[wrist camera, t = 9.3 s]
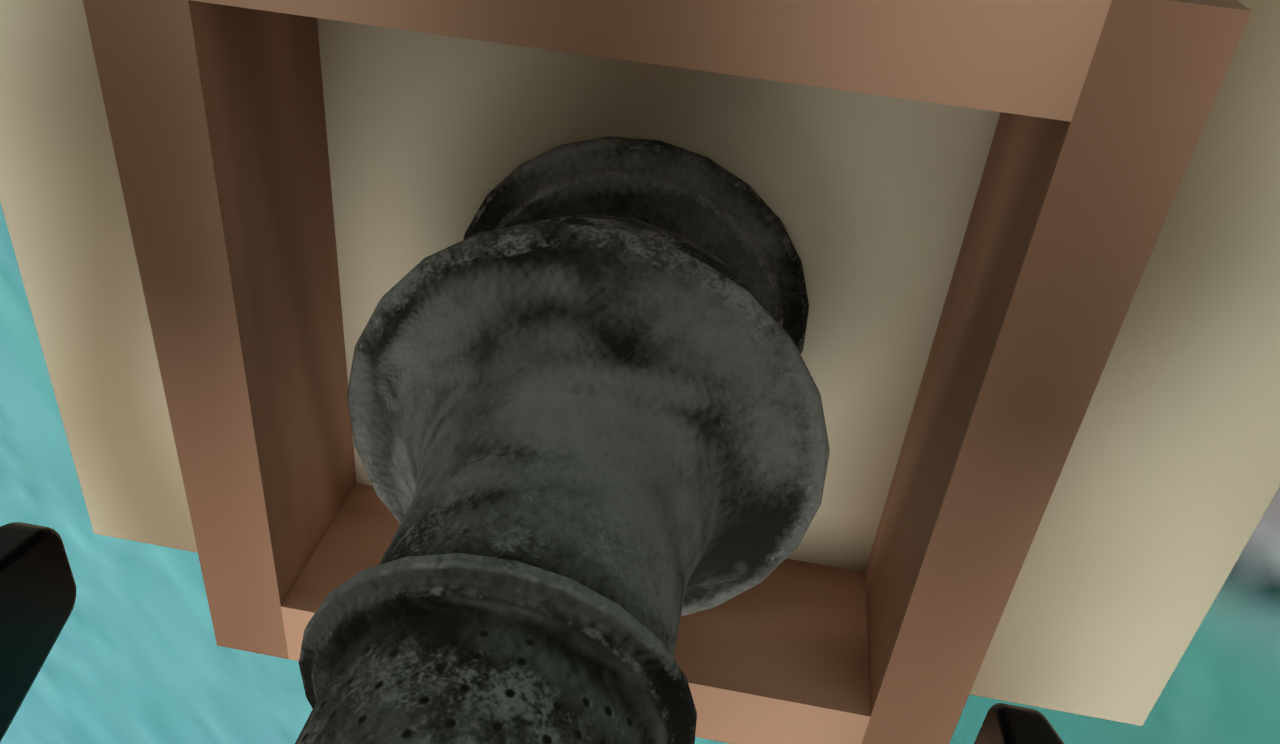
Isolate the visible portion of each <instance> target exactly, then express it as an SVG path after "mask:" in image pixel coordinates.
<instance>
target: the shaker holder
mask: <svg viewBox="0 0 1280 744" xmlns="http://www.w3.org/2000/svg"><path fill="white" fill-rule="evenodd" d="M608 136H612V137H624V138H636V139H648V140H659V141H662V142H665V143H668V144H671V145H674V146H677V147H680V148H683V149H685V150H688V151H691V152H694V153H697V154H700V155H703V156H705V157H708V158H710V159H711V160H713V161H714V162H716V163H717V164H719V165H720V166H722V167H723V168H725V169H726V170H728V171H729V172H731V173H732V174H734V175H735V176H737V177H738V178H740V179H741V180H743V181H744V182H746V183H747V184H749V185H750V186H751V187H752V188H753V189H754V190H755V192H756V193H757V194H758V195H759V196H760V197H761V198H762V199H763V201H764V202H765V203H766V204H767V205H768V206H769V207H770V208H771V210H772V211H773V212H774V213H775V214H776V215H777V216H778V217H779V219H780V220H781V221H782V223H783V225H784V227H785V229H786V231H787V233H788V235H789V237H790V239H791V241H792V243H793V245H794V247H795V249H796V251H797V253H798V255H799V257H800V259H801V262H802V266H803V272H804V278H805V284H806V290H807V296H808V302H809V311H808V318H807V325H806V333H805V340H804V347H803V351H802V353H801V356H802V358H803V360H804V362H805V364H806V366H807V368H808V370H809V372H810V374H811V376H812V378H813V380H814V382H815V384H816V386H817V388H818V390H819V392H820V394H821V400H822V406H823V412H824V418H825V424H826V430H827V436H828V442H829V448H830V454H829V460H828V466H827V472H826V478H825V484H824V490H823V496H822V501H821V505H820V507H819V509H818V511H817V512H816V514H815V516H814V518H813V520H812V522H811V524H810V525H809V527H808V529H807V531H806V533H805V535H804V536H803V538H802V540H801V542H800V544H799V546H798V547H797V549H796V550H795V551H793V552H792V553H791V554H790V555H789V556H788V557H787V558H786V559H785V560H784V561H783V562H782V563H781V564H780V565H779V566H778V567H777V568H776V569H775V570H774V571H773V572H772V573H771V574H769V575H768V576H767V577H766V578H765V579H764V580H763V581H762V582H761V583H759V584H757V585H756V586H754V587H752V588H750V589H748V590H746V591H744V592H743V593H741V594H739V595H737V596H735V597H733V598H731V599H729V600H728V601H726V602H724V603H722V604H720V605H718V606H716V607H714V608H711V609H707V610H703V611H699V612H696V613H692V614H688V615H684V616H681V618H680V624H679V630H678V636H677V642H676V648H675V654H674V660H675V662H676V663H677V664H678V666H679V667H680V669H681V670H682V672H683V673H684V674H685V676H686V678H687V681H688V684H689V688H690V691H691V694H692V698H693V701H694V704H695V708H696V711H697V722H696V732H695V737H699V738H705V739H710V740H715V741H720V742H725V743H731V744H949V742H950V740H951V737H952V735H953V733H954V730H955V728H956V725H957V723H958V721H959V718H960V716H961V713H962V711H963V708H964V706H965V704H966V701H967V699H968V696H969V694H970V695H976V696H981V697H987V698H992V699H998V700H1003V701H1009V702H1014V703H1019V704H1025V705H1030V706H1036V707H1041V708H1047V709H1052V710H1058V711H1063V712H1068V713H1074V714H1079V715H1085V716H1090V717H1096V718H1101V719H1107V720H1112V721H1117V722H1123V723H1128V724H1134V725H1139V726H1143V724H1144V722H1145V720H1146V719H1147V717H1148V715H1149V713H1150V712H1151V710H1152V708H1153V706H1154V705H1155V703H1156V701H1157V699H1158V698H1159V696H1160V694H1161V692H1162V691H1163V689H1164V687H1165V685H1166V684H1167V682H1168V680H1169V679H1170V677H1171V675H1172V673H1173V672H1174V670H1175V668H1176V666H1177V665H1178V663H1179V661H1180V659H1181V658H1182V656H1183V654H1184V652H1185V651H1186V649H1187V647H1188V645H1189V644H1190V642H1191V640H1192V638H1193V637H1194V635H1195V633H1196V631H1197V630H1198V628H1199V626H1200V624H1201V623H1202V621H1203V619H1204V617H1205V616H1206V614H1207V612H1208V611H1209V609H1210V607H1211V605H1212V604H1213V602H1214V600H1215V598H1216V597H1217V595H1218V593H1219V591H1220V590H1221V588H1222V586H1223V584H1224V583H1225V581H1226V579H1227V577H1228V576H1229V574H1230V572H1231V570H1232V569H1233V567H1234V565H1235V563H1236V562H1237V560H1238V558H1239V556H1240V555H1241V553H1242V551H1243V550H1244V548H1245V546H1246V544H1247V543H1248V541H1249V539H1250V537H1251V536H1252V534H1253V532H1254V530H1255V529H1256V527H1257V525H1258V523H1259V522H1260V520H1261V518H1262V516H1263V515H1264V513H1265V511H1266V509H1267V508H1268V506H1269V504H1270V502H1271V501H1272V499H1273V497H1274V495H1275V494H1276V492H1277V490H1278V488H1279V487H1280V0H0V202H1V205H2V209H3V212H4V216H5V219H6V223H7V227H8V230H9V234H10V237H11V241H12V244H13V248H14V251H15V255H16V258H17V262H18V265H19V269H20V273H21V276H22V280H23V283H24V287H25V290H26V294H27V297H28V301H29V304H30V308H31V311H32V315H33V319H34V322H35V326H36V329H37V333H38V336H39V340H40V343H41V347H42V350H43V354H44V357H45V361H46V365H47V368H48V372H49V375H50V379H51V382H52V386H53V389H54V393H55V396H56V400H57V403H58V407H59V411H60V414H61V418H62V421H63V425H64V428H65V432H66V435H67V439H68V442H69V446H70V449H71V453H72V457H73V460H74V464H75V467H76V471H77V474H78V478H79V481H80V485H81V488H82V492H83V495H84V499H85V503H86V506H87V510H88V513H89V517H90V520H91V524H92V527H93V531H94V534H100V535H105V536H110V537H116V538H121V539H127V540H132V541H138V542H143V543H149V544H154V545H159V546H165V547H170V548H176V549H181V550H187V551H192V552H197V553H198V555H199V560H200V565H201V570H202V574H203V579H204V584H205V589H206V594H207V598H208V603H209V608H210V613H211V617H212V622H213V627H214V632H215V637H216V641H217V645H218V646H223V647H228V648H234V649H239V650H244V651H249V652H255V653H260V654H265V655H270V656H276V657H281V658H286V659H291V660H296V661H299V658H300V652H301V646H302V640H303V635H304V630H305V628H306V626H307V624H308V623H309V621H310V620H311V618H312V617H313V615H314V614H315V612H316V611H317V609H318V608H319V606H320V605H321V603H322V602H323V600H324V599H325V597H326V596H327V594H328V593H330V592H331V591H332V590H334V589H335V588H337V587H338V586H340V585H341V584H343V583H344V582H345V581H347V580H348V579H350V578H351V577H353V576H354V575H356V574H357V573H359V572H360V571H362V570H365V569H368V568H372V567H375V566H378V565H379V564H380V562H381V560H382V558H383V556H384V554H385V552H386V550H387V548H388V547H389V545H390V543H391V541H392V539H393V537H394V535H395V533H396V531H397V530H398V528H399V526H400V523H399V522H398V521H397V520H396V518H395V517H394V516H393V514H392V513H391V512H390V511H389V509H388V508H387V507H386V506H385V504H384V503H383V502H382V501H381V499H380V498H379V497H378V495H377V494H376V492H375V490H374V487H373V485H372V483H371V481H370V479H369V477H368V474H367V472H366V470H365V468H364V466H363V464H362V461H361V459H360V457H359V455H358V453H357V451H356V448H355V446H354V440H353V433H352V427H351V420H350V414H349V408H348V401H347V391H348V385H349V379H350V373H351V366H352V360H353V354H354V348H355V345H356V343H357V341H358V339H359V337H360V336H361V334H362V332H363V330H364V328H365V326H366V325H367V323H368V321H369V319H370V317H371V315H372V314H373V312H374V310H375V308H376V306H377V304H378V303H379V301H380V299H381V298H382V297H383V295H385V294H386V293H387V292H388V291H389V290H390V289H391V288H392V287H393V286H394V285H396V284H397V283H398V282H399V281H400V280H401V279H402V278H403V277H404V276H405V275H406V274H408V273H409V272H410V271H411V270H412V269H413V268H414V267H415V266H416V265H417V264H419V263H420V262H421V261H422V260H423V259H424V258H426V257H428V256H430V255H432V254H434V253H436V252H439V251H441V250H443V249H445V248H447V247H450V246H452V245H454V244H456V243H458V242H460V241H463V239H464V234H465V232H466V230H467V229H468V227H469V225H470V223H471V222H472V220H473V218H474V216H475V215H476V213H477V211H478V210H479V208H480V206H481V204H482V203H483V201H484V199H485V197H486V196H487V195H488V193H490V192H491V191H492V190H493V189H494V188H495V187H496V186H497V185H498V184H499V183H501V182H502V181H503V180H504V179H505V178H506V177H507V176H508V175H509V174H510V173H511V172H513V171H514V170H515V169H516V168H517V167H518V166H519V165H520V164H522V163H524V162H527V161H529V160H531V159H533V158H535V157H537V156H539V155H541V154H543V153H545V152H547V151H549V150H551V149H554V148H556V147H558V146H560V145H562V144H568V143H574V142H579V141H585V140H591V139H596V138H602V137H608Z"/></svg>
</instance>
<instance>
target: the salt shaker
mask: <svg viewBox="0 0 1280 744" xmlns="http://www.w3.org/2000/svg"><path fill="white" fill-rule="evenodd" d="M808 311H809V302H808V296H807V290H806V284H805V278H804V272H803V266H802V262H801V259H800V257H799V255H798V253H797V251H796V249H795V247H794V245H793V243H792V241H791V239H790V237H789V235H788V233H787V231H786V229H785V227H784V225H783V223H782V221H781V220H780V219H779V217H778V216H777V215H776V214H775V213H774V212H773V211H772V210H771V208H770V207H769V206H768V205H767V204H766V203H765V202H764V201H763V199H762V198H761V197H760V196H759V195H758V194H757V193H756V192H755V190H754V189H753V188H752V187H751V186H750V185H749V184H747V183H746V182H744V181H743V180H741V179H740V178H738V177H737V176H735V175H734V174H732V173H731V172H729V171H728V170H726V169H725V168H723V167H722V166H720V165H719V164H717V163H716V162H714V161H713V160H711V159H710V158H708V157H705V156H703V155H700V154H697V153H694V152H691V151H688V150H685V149H683V148H680V147H677V146H674V145H671V144H668V143H665V142H662V141H659V140H648V139H636V138H624V137H612V136H608V137H602V138H596V139H591V140H585V141H579V142H574V143H568V144H562V145H560V146H558V147H556V148H554V149H551V150H549V151H547V152H545V153H543V154H541V155H539V156H537V157H535V158H533V159H531V160H529V161H527V162H524V163H522V164H520V165H519V166H518V167H517V168H516V169H515V170H514V171H513V172H511V173H510V174H509V175H508V176H507V177H506V178H505V179H504V180H503V181H502V182H501V183H499V184H498V185H497V186H496V187H495V188H494V189H493V190H492V191H491V192H490V193H488V195H487V196H486V197H485V199H484V201H483V203H482V204H481V206H480V208H479V210H478V211H477V213H476V215H475V216H474V218H473V220H472V222H471V223H470V225H469V227H468V229H467V230H466V232H465V234H464V239H463V241H460V242H458V243H456V244H454V245H452V246H450V247H447V248H445V249H443V250H441V251H439V252H436V253H434V254H432V255H430V256H428V257H426V258H424V259H423V260H422V261H421V262H420V263H419V264H417V265H416V266H415V267H414V268H413V269H412V270H411V271H410V272H409V273H408V274H406V275H405V276H404V277H403V278H402V279H401V280H400V281H399V282H398V283H397V284H396V285H394V286H393V287H392V288H391V289H390V290H389V291H388V292H387V293H386V294H385V295H383V297H382V298H381V299H380V301H379V303H378V304H377V306H376V308H375V310H374V312H373V314H372V315H371V317H370V319H369V321H368V323H367V325H366V326H365V328H364V330H363V332H362V334H361V336H360V337H359V339H358V341H357V343H356V345H355V348H354V354H353V360H352V366H351V373H350V379H349V385H348V391H347V401H348V408H349V414H350V420H351V427H352V433H353V440H354V446H355V448H356V451H357V453H358V455H359V457H360V459H361V461H362V464H363V466H364V468H365V470H366V472H367V474H368V477H369V479H370V481H371V483H372V485H373V487H374V490H375V492H376V494H377V495H378V497H379V498H380V499H381V501H382V502H383V503H384V504H385V506H386V507H387V508H388V509H389V511H390V512H391V513H392V514H393V516H394V517H395V518H396V520H397V521H398V522H399V523H400V526H399V528H398V530H397V531H396V533H395V535H394V537H393V539H392V541H391V543H390V545H389V547H388V548H387V550H386V552H385V554H384V556H383V558H382V560H381V562H380V564H379V565H378V566H375V567H372V568H368V569H365V570H362V571H360V572H359V573H357V574H356V575H354V576H353V577H351V578H350V579H348V580H347V581H345V582H344V583H343V584H341V585H340V586H338V587H337V588H335V589H334V590H332V591H331V592H330V593H328V594H327V596H326V597H325V599H324V600H323V602H322V603H321V605H320V606H319V608H318V609H317V611H316V612H315V614H314V615H313V617H312V618H311V620H310V621H309V623H308V624H307V626H306V628H305V630H304V635H303V640H302V646H301V652H300V658H299V666H300V671H301V675H302V680H303V684H304V689H305V693H306V697H307V699H308V701H309V703H310V705H311V706H312V708H313V710H312V712H311V714H310V716H309V718H308V720H307V722H306V723H305V725H304V727H303V729H302V731H301V733H300V735H299V737H298V739H297V741H296V743H295V744H694V742H695V732H696V722H697V711H696V708H695V704H694V701H693V698H692V694H691V691H690V688H689V684H688V681H687V678H686V676H685V674H684V673H683V672H682V670H681V669H680V667H679V666H678V664H677V663H676V662H675V660H674V654H675V648H676V642H677V636H678V630H679V624H680V618H681V616H684V615H688V614H692V613H696V612H699V611H703V610H707V609H711V608H714V607H716V606H718V605H720V604H722V603H724V602H726V601H728V600H729V599H731V598H733V597H735V596H737V595H739V594H741V593H743V592H744V591H746V590H748V589H750V588H752V587H754V586H756V585H757V584H759V583H761V582H762V581H763V580H764V579H765V578H766V577H767V576H768V575H769V574H771V573H772V572H773V571H774V570H775V569H776V568H777V567H778V566H779V565H780V564H781V563H782V562H783V561H784V560H785V559H786V558H787V557H788V556H789V555H790V554H791V553H792V552H793V551H795V550H796V549H797V547H798V546H799V544H800V542H801V540H802V538H803V536H804V535H805V533H806V531H807V529H808V527H809V525H810V524H811V522H812V520H813V518H814V516H815V514H816V512H817V511H818V509H819V507H820V505H821V501H822V496H823V490H824V484H825V478H826V472H827V466H828V460H829V454H830V448H829V442H828V436H827V430H826V424H825V418H824V412H823V406H822V400H821V394H820V392H819V390H818V388H817V386H816V384H815V382H814V380H813V378H812V376H811V374H810V372H809V370H808V368H807V366H806V364H805V362H804V360H803V358H802V356H801V353H802V351H803V347H804V340H805V333H806V325H807V318H808Z"/></svg>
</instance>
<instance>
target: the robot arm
mask: <svg viewBox="0 0 1280 744" xmlns="http://www.w3.org/2000/svg"><path fill="white" fill-rule="evenodd" d="M75 599H76V585H75V581H74V578H73V575H72V571H71V568H70V565H69V562H68V558H67V555H66V552H65V548H64V545H63V542H62V539H61V537H60V535H59V534H58V533H57V532H56V531H55V530H54V529H51V528H49V527H43V526H38V525H32V524H27V523H20V522H15V523H9V524H6V525H4V526H1V527H0V741H1V740H2V738H3V736H4V735H5V733H6V731H7V730H8V728H9V726H10V724H11V722H12V720H13V719H14V717H15V715H16V713H17V711H18V709H19V708H20V706H21V704H22V702H23V700H24V698H25V697H26V695H27V693H28V691H29V689H30V687H31V686H32V684H33V682H34V680H35V678H36V676H37V675H38V673H39V671H40V669H41V667H42V665H43V664H44V662H45V660H46V658H47V656H48V654H49V653H50V651H51V649H52V647H53V645H54V643H55V642H56V640H57V638H58V636H59V634H60V632H61V631H62V629H63V627H64V625H65V623H66V621H67V620H68V618H69V616H70V614H71V612H72V609H73V607H74V604H75ZM974 744H1064V743H1063V741H1062V740H1061V738H1060V737H1059V735H1058V734H1057V733H1056V731H1055V730H1054V728H1053V727H1052V726H1051V724H1050V723H1049V721H1048V720H1047V719H1046V717H1045V716H1044V715H1042V714H1041V713H1040V712H1038V711H1037V710H1034V709H1030V708H1024V707H1019V706H1013V705H1008V704H1003V703H999V704H995V705H993V706H992V707H991V708H990V710H989V711H988V713H987V715H986V718H985V720H984V722H983V725H982V727H981V729H980V731H979V734H978V736H977V738H976V741H975V743H974Z"/></svg>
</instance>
